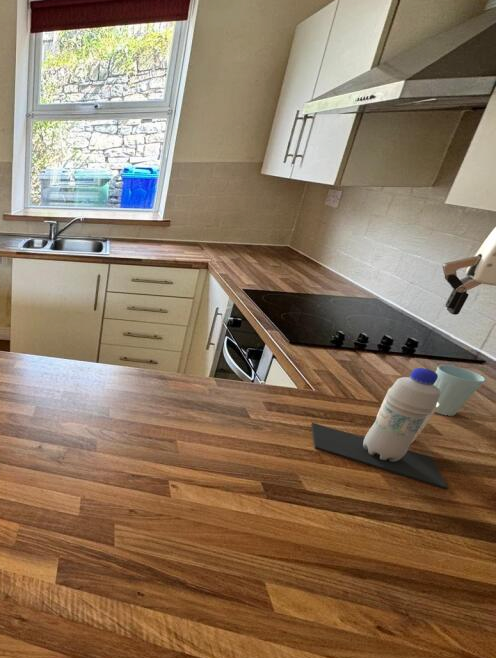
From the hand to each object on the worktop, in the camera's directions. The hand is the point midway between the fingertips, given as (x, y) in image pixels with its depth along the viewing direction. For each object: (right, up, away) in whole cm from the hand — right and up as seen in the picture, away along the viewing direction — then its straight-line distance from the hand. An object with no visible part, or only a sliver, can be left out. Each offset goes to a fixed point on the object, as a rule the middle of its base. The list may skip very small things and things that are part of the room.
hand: (491, 317), depth 70 cm
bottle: (-6, -28, +13) cm, 31 cm away
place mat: (-7, -28, +14) cm, 32 cm away
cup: (+24, -21, +29) cm, 43 cm away
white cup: (+3, -25, +20) cm, 32 cm away
